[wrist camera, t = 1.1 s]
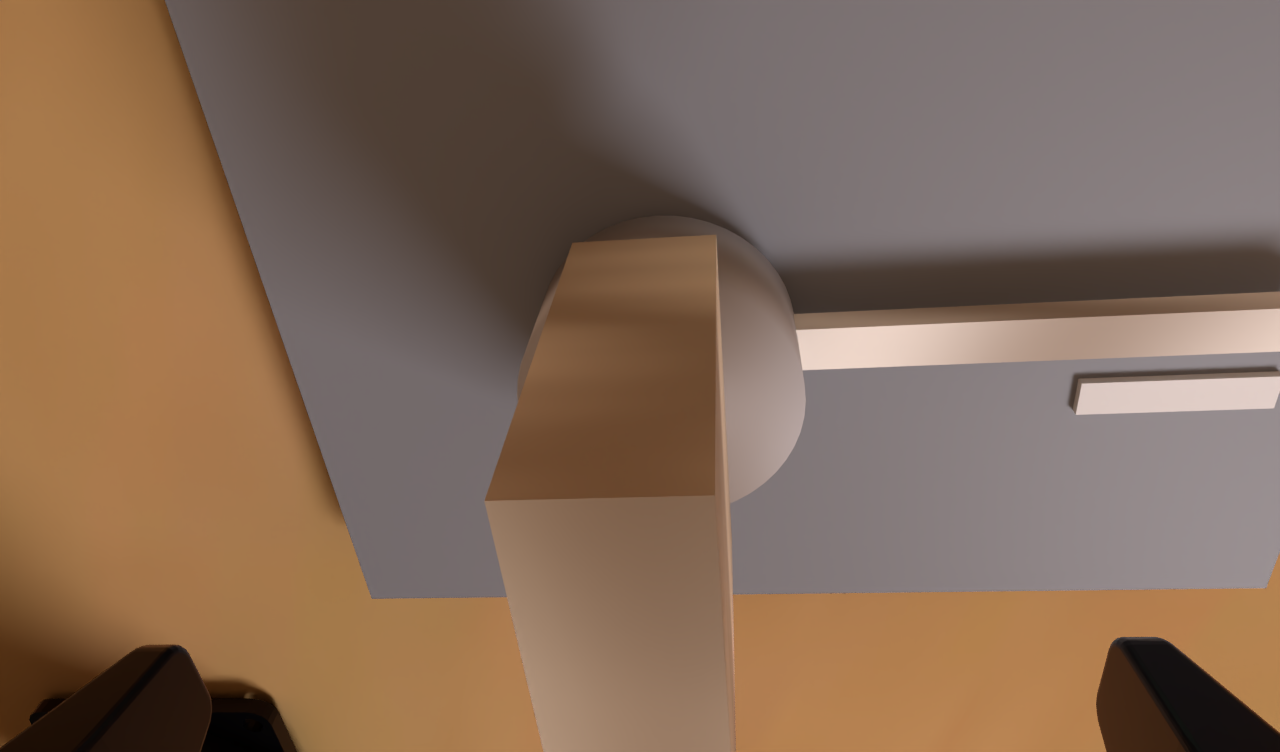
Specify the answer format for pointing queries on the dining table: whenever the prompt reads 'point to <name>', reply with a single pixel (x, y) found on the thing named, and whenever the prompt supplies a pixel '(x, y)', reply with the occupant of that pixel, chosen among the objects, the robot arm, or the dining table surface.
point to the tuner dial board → (778, 258)
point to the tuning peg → (714, 453)
